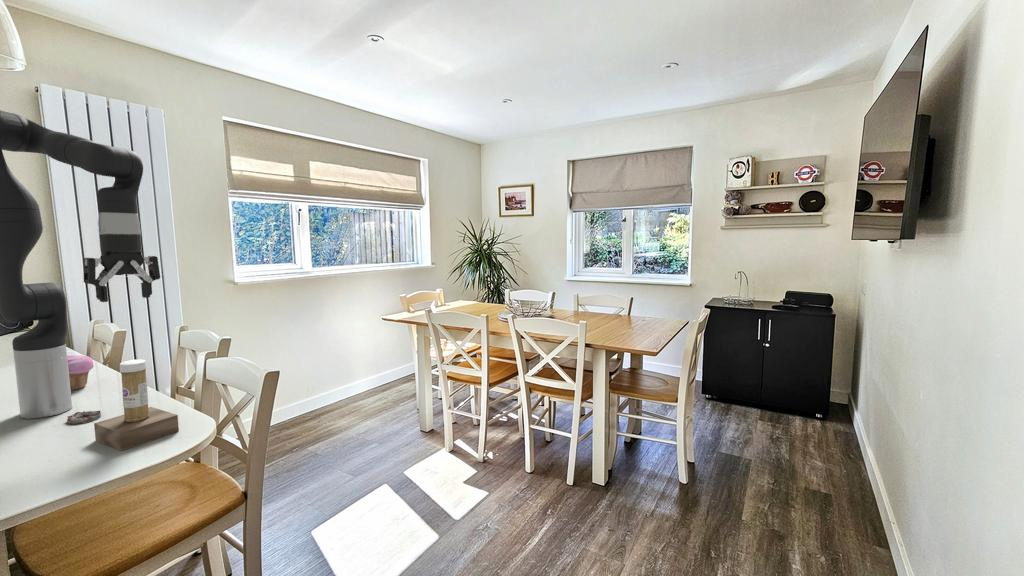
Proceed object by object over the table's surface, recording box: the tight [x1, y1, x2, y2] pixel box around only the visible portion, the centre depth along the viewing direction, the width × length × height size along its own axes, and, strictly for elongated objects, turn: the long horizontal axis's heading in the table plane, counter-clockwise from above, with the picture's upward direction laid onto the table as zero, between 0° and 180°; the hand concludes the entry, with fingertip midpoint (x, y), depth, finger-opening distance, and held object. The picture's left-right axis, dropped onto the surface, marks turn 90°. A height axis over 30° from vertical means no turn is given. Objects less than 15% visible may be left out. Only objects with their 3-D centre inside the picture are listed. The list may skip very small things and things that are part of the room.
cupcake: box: [67, 354, 95, 391], centre depth 132 cm, size 9×9×10 cm
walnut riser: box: [93, 406, 180, 452], centre depth 102 cm, size 11×11×4 cm
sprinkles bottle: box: [119, 359, 150, 422], centre depth 101 cm, size 5×5×13 cm
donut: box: [66, 410, 102, 425], centre depth 110 cm, size 8×8×2 cm
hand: (125, 299), depth 108 cm, fingers open, 8 cm apart
